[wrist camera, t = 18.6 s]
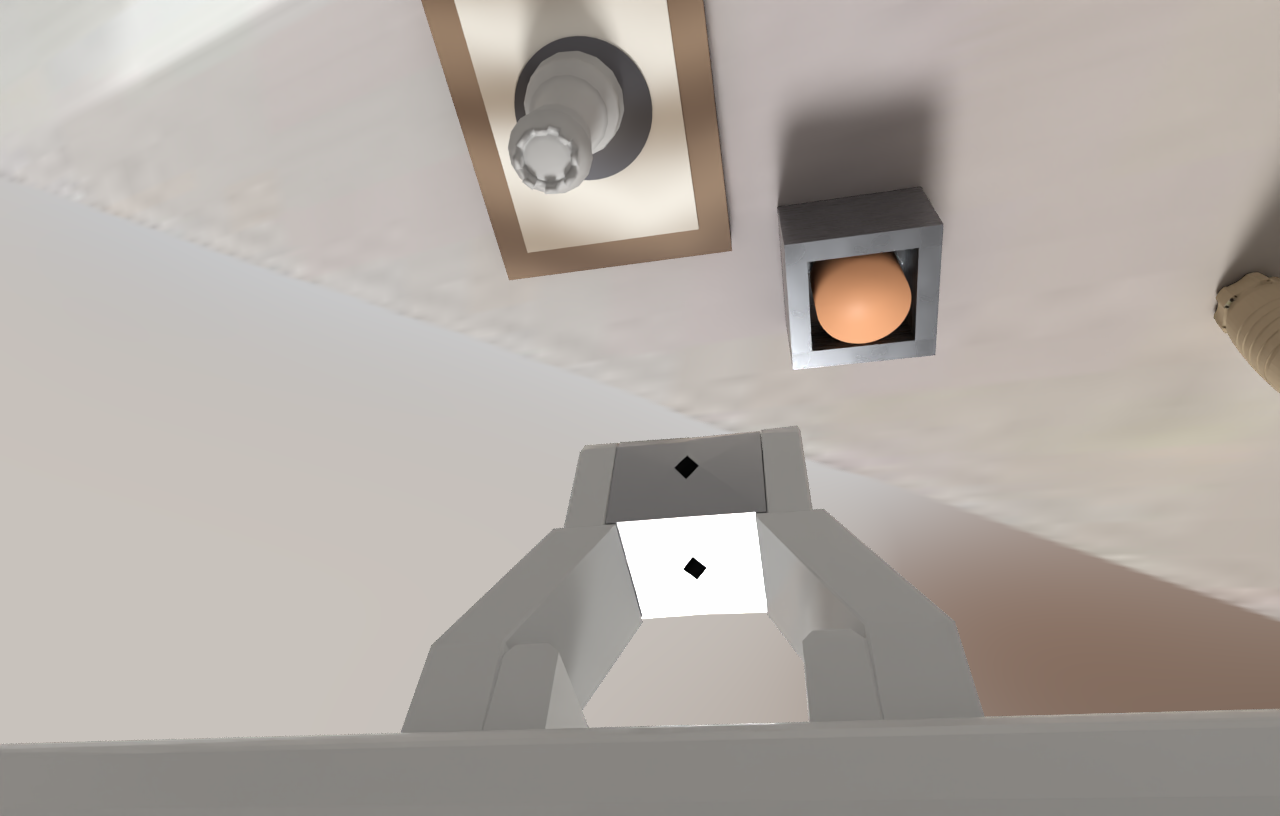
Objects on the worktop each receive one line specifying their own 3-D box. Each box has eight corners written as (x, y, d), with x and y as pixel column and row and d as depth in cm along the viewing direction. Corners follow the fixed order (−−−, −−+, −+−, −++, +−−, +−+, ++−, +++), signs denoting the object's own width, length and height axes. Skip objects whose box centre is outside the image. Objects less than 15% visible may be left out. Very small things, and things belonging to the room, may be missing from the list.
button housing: (777, 207, 38) (783, 245, 35) (920, 187, 37) (943, 224, 33) (786, 324, 42) (793, 369, 39) (915, 310, 41) (935, 355, 38)
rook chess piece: (621, 155, 36) (600, 225, 29) (527, 143, 36) (487, 210, 29) (629, 54, 33) (610, 107, 27) (529, 41, 33) (484, 91, 27)
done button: (808, 241, 37) (814, 269, 35) (899, 229, 37) (913, 256, 34) (811, 317, 40) (818, 348, 38) (897, 307, 39) (909, 338, 37)
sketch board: (410, -66, 32) (399, -63, 31) (688, -127, 30) (687, -126, 29) (513, 269, 42) (507, 282, 40) (731, 240, 40) (731, 253, 38)
